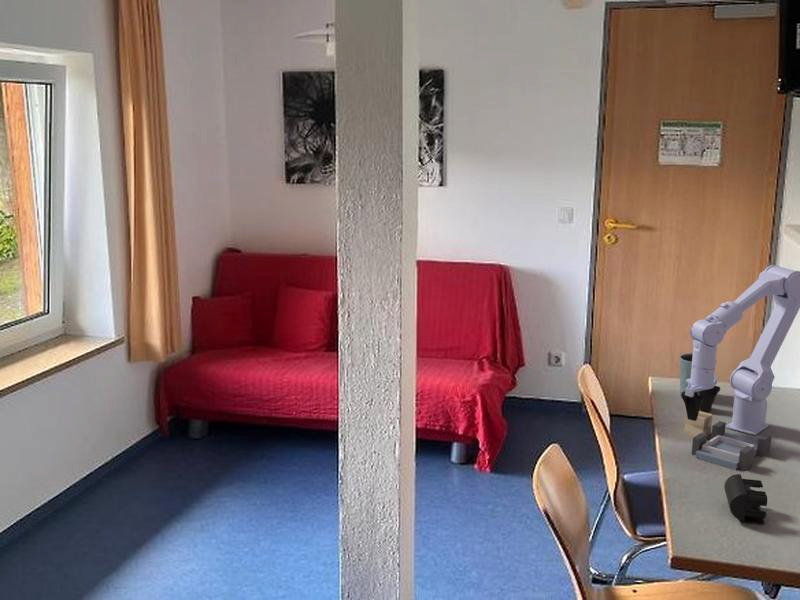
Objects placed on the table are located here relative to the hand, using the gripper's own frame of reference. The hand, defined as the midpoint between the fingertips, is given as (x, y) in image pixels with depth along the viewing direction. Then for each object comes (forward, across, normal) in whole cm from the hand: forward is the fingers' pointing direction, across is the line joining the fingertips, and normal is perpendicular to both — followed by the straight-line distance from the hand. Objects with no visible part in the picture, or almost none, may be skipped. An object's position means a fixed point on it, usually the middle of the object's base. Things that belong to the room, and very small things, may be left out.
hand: (698, 416), depth 218 cm
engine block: (+5, 0, 0) cm, 5 cm away
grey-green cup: (+5, -27, -13) cm, 31 cm away
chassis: (+5, +6, +12) cm, 14 cm away
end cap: (+5, +35, +27) cm, 44 cm away
